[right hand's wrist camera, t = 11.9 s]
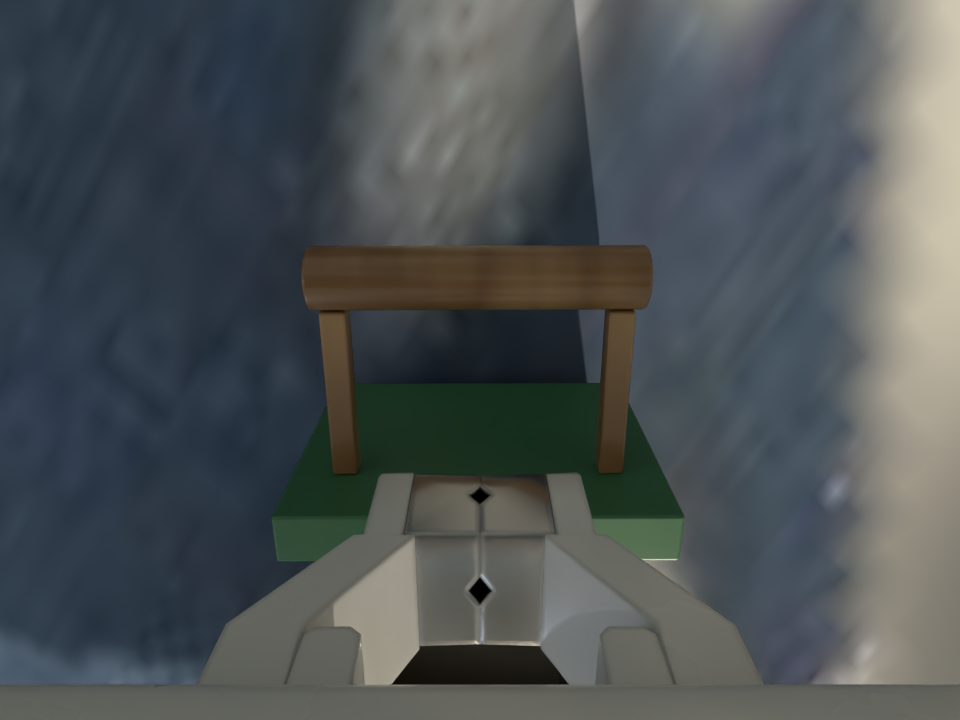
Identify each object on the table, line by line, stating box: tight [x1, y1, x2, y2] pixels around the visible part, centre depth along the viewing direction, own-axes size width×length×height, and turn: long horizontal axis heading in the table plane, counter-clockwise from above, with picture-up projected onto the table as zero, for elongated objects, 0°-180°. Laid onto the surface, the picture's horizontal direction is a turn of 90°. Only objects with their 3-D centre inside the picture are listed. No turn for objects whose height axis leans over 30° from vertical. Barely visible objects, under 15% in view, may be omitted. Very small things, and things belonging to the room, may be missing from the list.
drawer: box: [271, 245, 684, 685], centre depth 21 cm, size 26×9×7 cm, turn 0°
